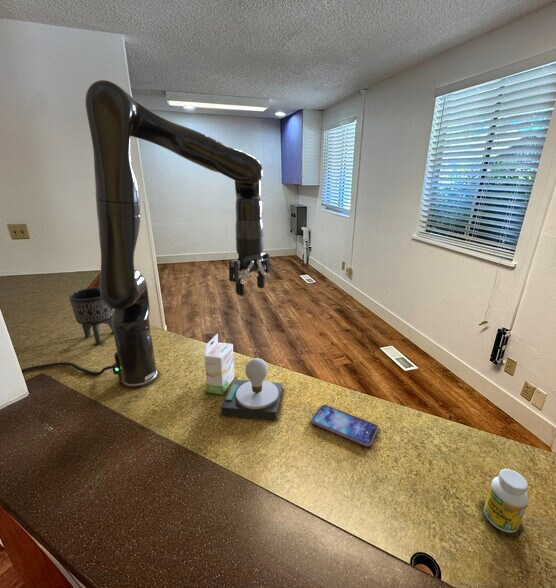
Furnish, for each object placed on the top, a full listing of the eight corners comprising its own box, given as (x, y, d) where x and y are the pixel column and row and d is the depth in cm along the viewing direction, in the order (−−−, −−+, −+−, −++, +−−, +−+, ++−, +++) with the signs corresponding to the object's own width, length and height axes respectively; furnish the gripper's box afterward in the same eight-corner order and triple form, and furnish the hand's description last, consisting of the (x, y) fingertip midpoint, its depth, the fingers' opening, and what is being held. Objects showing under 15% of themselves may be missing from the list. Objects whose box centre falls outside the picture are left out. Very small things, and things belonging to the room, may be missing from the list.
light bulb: (271, 388, 83) (271, 356, 80) (262, 401, 78) (262, 368, 74) (252, 383, 85) (251, 352, 81) (242, 396, 80) (240, 363, 76)
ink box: (223, 395, 84) (220, 348, 80) (206, 392, 85) (202, 346, 80) (235, 377, 93) (233, 334, 88) (220, 375, 93) (217, 332, 88)
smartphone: (322, 403, 81) (378, 425, 74) (322, 406, 81) (378, 428, 74) (310, 420, 75) (369, 445, 68) (310, 423, 75) (369, 448, 68)
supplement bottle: (523, 522, 54) (538, 482, 51) (510, 540, 51) (526, 500, 48) (490, 498, 58) (503, 460, 55) (477, 514, 55) (490, 475, 52)
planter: (110, 326, 122) (102, 285, 116) (126, 336, 115) (118, 292, 109) (73, 338, 113) (62, 293, 107) (89, 349, 106) (78, 302, 100)
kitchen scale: (221, 415, 77) (220, 404, 76) (234, 386, 89) (234, 376, 88) (275, 420, 76) (275, 409, 75) (282, 390, 87) (282, 380, 86)
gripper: (257, 231, 91) (257, 283, 97) (220, 237, 80) (223, 294, 86) (276, 234, 87) (276, 288, 92) (240, 240, 76) (242, 301, 81)
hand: (251, 291), depth 89 cm, fingers open, 8 cm apart
